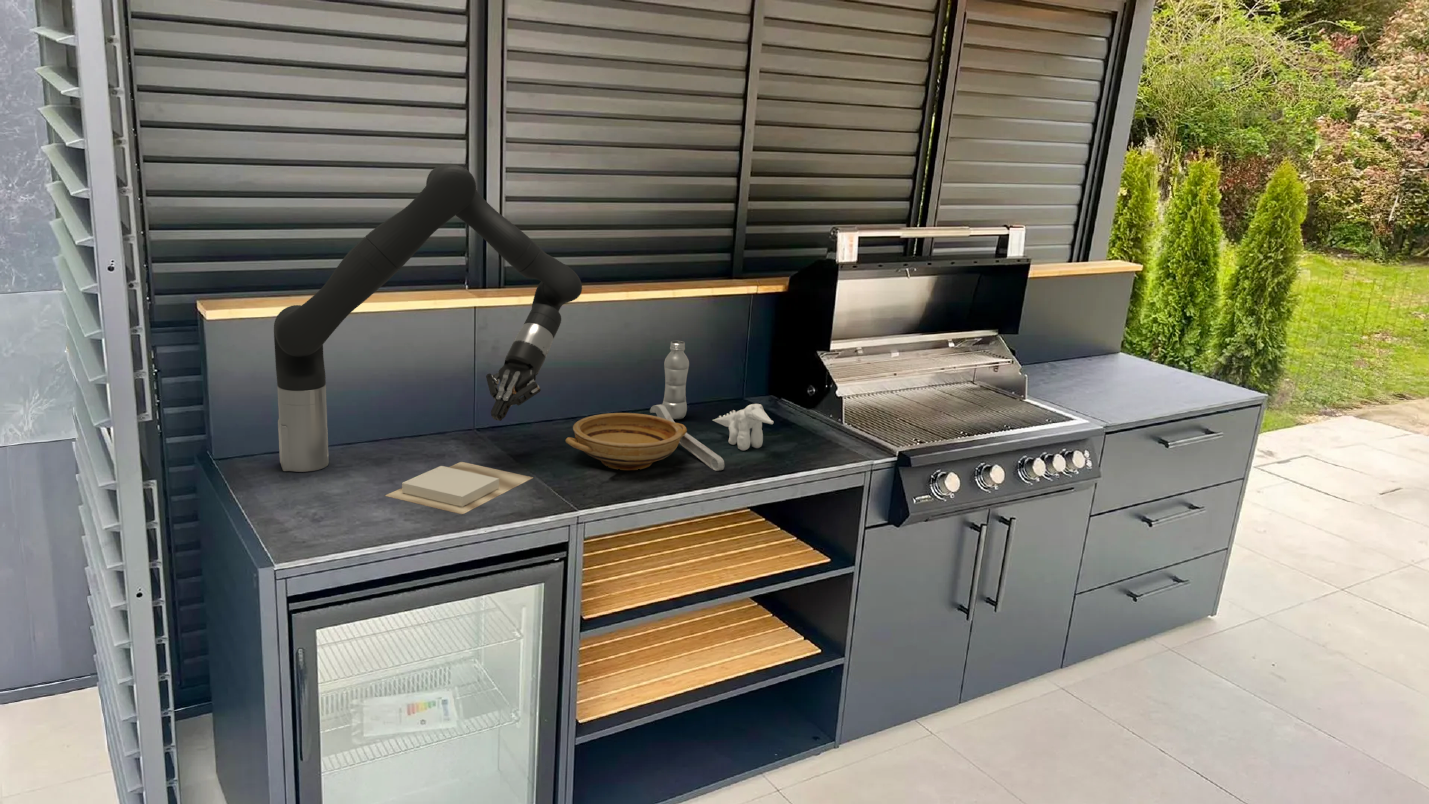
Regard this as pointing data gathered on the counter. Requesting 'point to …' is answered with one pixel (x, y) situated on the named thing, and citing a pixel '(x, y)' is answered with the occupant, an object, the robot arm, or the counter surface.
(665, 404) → the plastic bottle
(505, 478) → the board
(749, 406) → the toy dinosaur
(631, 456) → the ceramic bowl
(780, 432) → the counter surface
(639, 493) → the counter surface
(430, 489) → the tile
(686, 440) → the wrench
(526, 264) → the robot arm
